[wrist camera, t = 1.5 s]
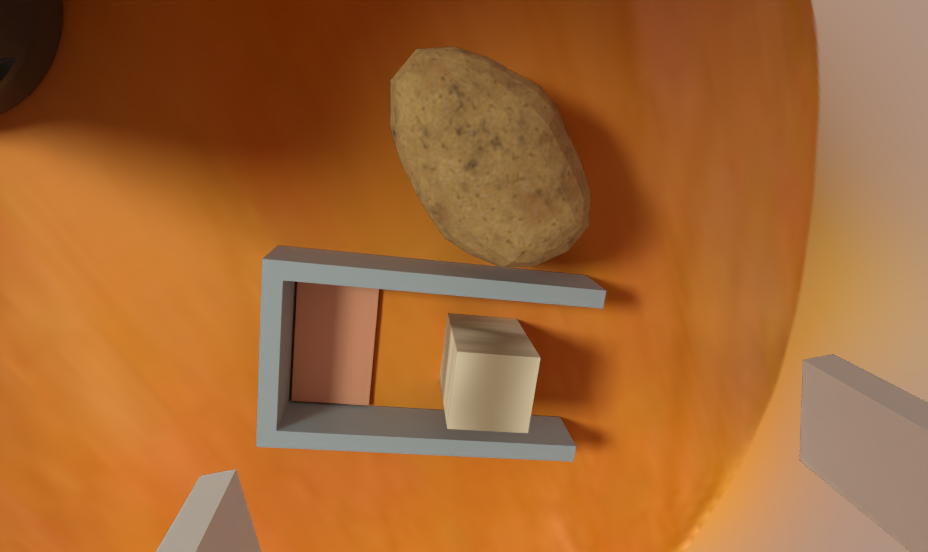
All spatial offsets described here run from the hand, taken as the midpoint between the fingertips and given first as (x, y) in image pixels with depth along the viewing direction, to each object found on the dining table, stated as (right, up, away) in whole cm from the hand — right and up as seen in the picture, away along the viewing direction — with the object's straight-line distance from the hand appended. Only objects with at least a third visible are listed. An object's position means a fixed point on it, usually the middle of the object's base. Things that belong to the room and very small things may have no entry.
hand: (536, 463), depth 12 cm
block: (-1, -1, +26) cm, 26 cm away
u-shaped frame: (-4, -1, +26) cm, 26 cm away
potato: (-1, +12, +23) cm, 26 cm away
